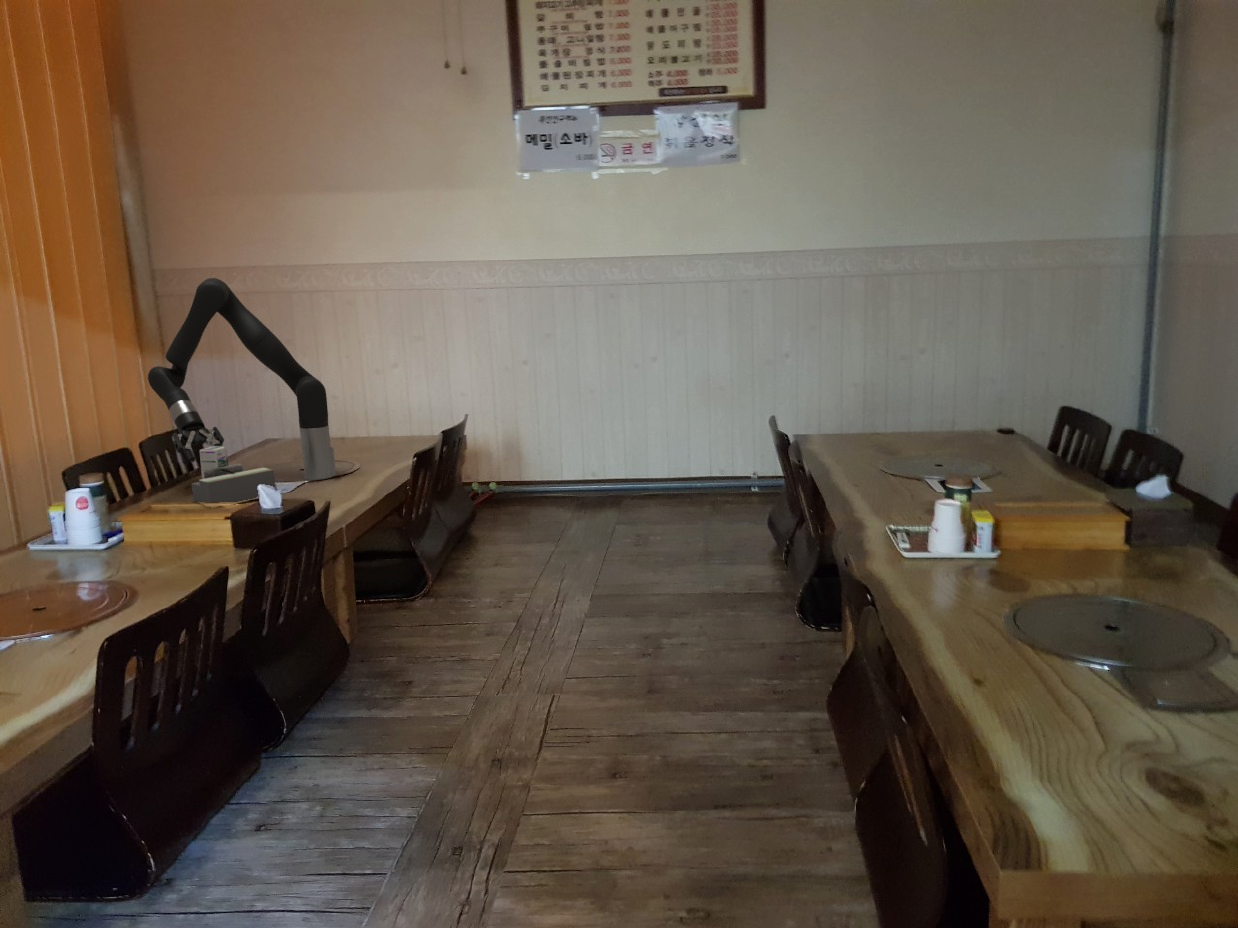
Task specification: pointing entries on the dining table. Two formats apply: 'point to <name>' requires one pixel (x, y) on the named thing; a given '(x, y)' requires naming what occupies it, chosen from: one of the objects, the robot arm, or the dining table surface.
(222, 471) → the gauge pad
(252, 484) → the block
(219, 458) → the syrup box
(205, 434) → the robot arm
